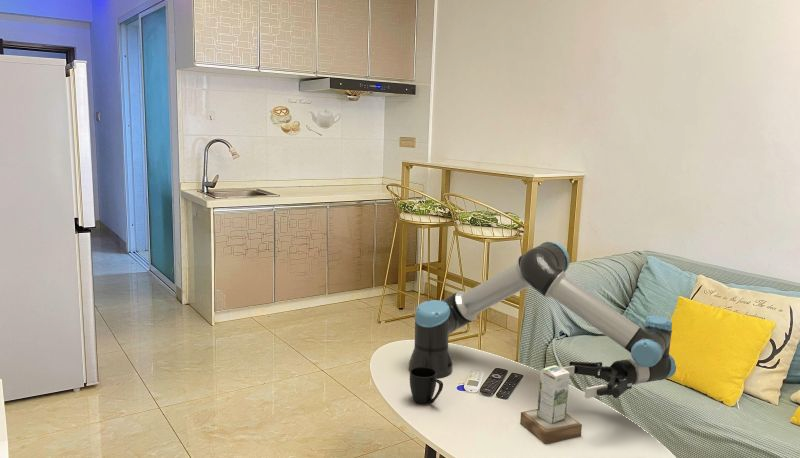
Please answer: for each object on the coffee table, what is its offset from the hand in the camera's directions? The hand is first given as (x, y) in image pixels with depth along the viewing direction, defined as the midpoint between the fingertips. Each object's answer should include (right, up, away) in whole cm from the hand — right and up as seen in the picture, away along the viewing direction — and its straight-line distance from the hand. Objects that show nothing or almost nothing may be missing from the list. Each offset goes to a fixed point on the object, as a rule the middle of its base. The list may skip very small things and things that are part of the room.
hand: (569, 382), depth 171 cm
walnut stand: (-5, -14, +1) cm, 15 cm away
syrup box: (-5, -10, 0) cm, 11 cm away
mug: (-40, -10, +15) cm, 44 cm away
